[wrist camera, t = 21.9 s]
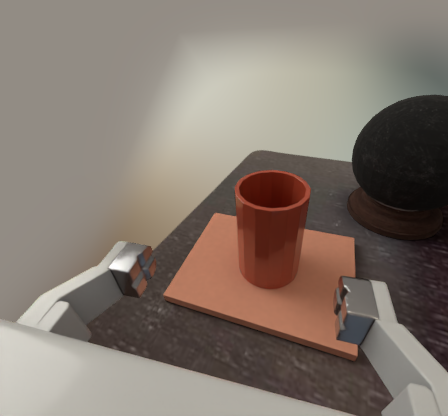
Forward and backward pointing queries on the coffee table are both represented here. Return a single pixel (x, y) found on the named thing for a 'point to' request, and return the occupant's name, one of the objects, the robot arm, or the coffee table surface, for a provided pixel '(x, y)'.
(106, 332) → the coffee table surface
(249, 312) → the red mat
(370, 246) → the coffee table surface
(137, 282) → the robot arm
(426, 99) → the black ball on stand
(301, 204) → the terracotta cup
